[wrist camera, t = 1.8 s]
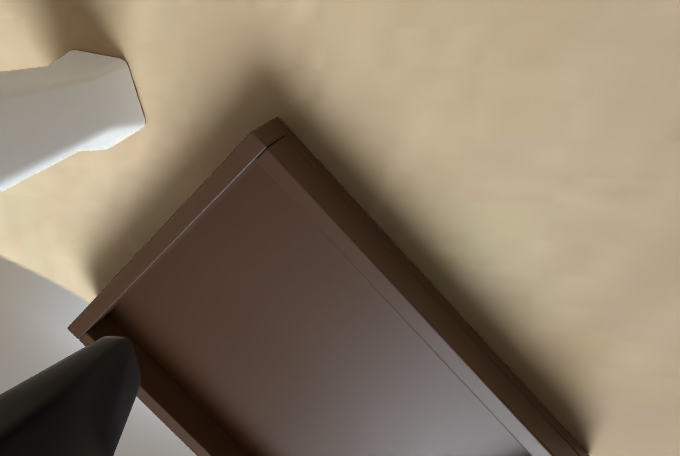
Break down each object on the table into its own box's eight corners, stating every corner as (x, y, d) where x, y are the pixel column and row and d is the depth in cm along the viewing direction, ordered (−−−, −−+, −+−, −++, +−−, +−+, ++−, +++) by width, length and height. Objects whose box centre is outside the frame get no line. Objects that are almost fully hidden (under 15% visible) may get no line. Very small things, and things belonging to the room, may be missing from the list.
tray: (590, 455, 22) (594, 500, 20) (351, 555, 29) (338, 595, 27) (277, 116, 20) (252, 131, 19) (98, 304, 27) (66, 328, 25)
